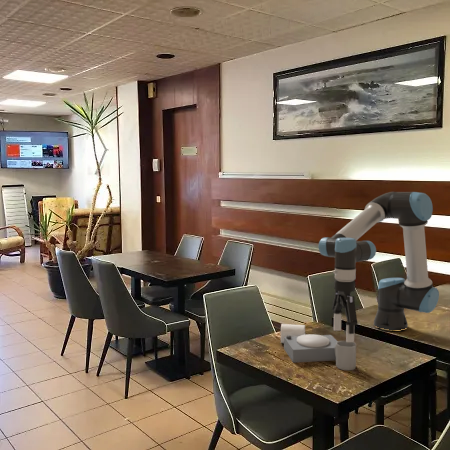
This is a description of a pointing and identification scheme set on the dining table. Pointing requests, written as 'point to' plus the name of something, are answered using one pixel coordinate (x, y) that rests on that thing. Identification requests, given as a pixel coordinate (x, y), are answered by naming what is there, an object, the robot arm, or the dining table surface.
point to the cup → (345, 355)
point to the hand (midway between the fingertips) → (343, 335)
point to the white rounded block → (291, 330)
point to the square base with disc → (310, 348)
